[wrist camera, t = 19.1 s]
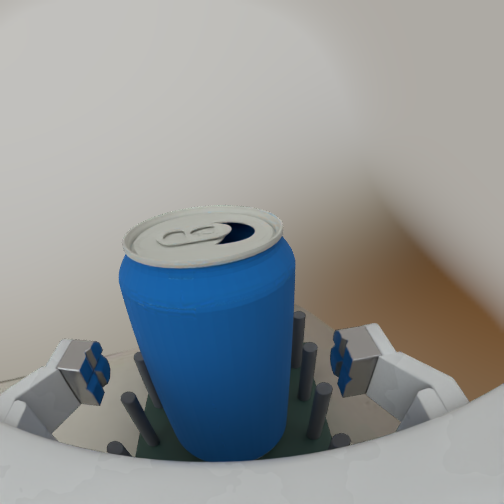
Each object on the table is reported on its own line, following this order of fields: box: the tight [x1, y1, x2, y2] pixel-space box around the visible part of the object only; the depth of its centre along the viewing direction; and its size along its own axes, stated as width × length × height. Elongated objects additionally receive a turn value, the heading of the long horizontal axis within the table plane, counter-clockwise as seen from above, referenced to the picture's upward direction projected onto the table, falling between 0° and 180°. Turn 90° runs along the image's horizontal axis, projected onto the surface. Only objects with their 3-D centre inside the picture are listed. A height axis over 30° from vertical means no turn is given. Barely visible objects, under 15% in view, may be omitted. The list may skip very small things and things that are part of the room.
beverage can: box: [119, 206, 295, 462], centre depth 12 cm, size 6×6×12 cm
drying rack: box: [107, 311, 351, 462], centre depth 14 cm, size 11×11×6 cm
